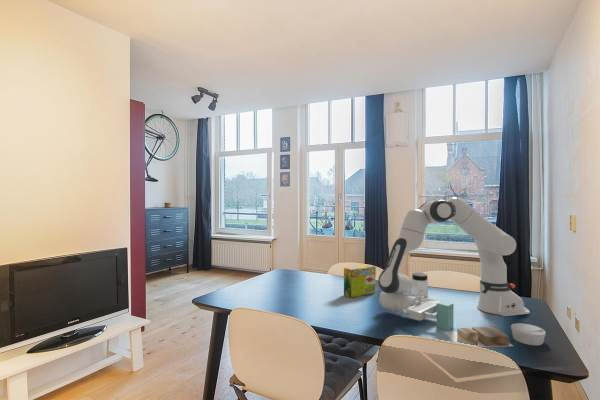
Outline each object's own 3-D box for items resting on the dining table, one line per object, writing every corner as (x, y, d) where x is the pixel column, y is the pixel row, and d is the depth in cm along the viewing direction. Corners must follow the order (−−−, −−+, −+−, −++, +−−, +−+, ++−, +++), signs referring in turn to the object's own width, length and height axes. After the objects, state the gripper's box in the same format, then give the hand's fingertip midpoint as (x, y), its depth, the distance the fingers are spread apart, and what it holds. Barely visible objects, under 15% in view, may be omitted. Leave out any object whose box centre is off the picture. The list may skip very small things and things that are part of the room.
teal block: (441, 325, 148) (441, 300, 148) (453, 329, 144) (453, 303, 144) (436, 328, 144) (436, 303, 144) (448, 332, 141) (448, 306, 140)
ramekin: (543, 351, 123) (543, 337, 123) (508, 342, 131) (508, 329, 131) (547, 341, 132) (547, 328, 132) (513, 333, 139) (513, 320, 139)
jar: (413, 297, 188) (413, 276, 187) (409, 293, 196) (409, 272, 196) (430, 297, 187) (430, 276, 187) (425, 293, 195) (425, 272, 195)
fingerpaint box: (367, 290, 203) (367, 263, 203) (375, 292, 197) (375, 265, 197) (342, 295, 193) (342, 267, 193) (350, 298, 187) (350, 269, 187)
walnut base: (494, 335, 135) (494, 326, 135) (509, 345, 126) (509, 336, 126) (472, 336, 135) (472, 327, 135) (485, 346, 126) (485, 336, 126)
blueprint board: (491, 332, 140) (491, 330, 140) (513, 348, 126) (513, 346, 126) (443, 333, 139) (443, 331, 139) (461, 349, 125) (461, 347, 125)
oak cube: (468, 340, 131) (468, 327, 131) (477, 345, 126) (477, 332, 126) (457, 341, 130) (457, 328, 130) (466, 347, 125) (466, 333, 125)
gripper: (399, 304, 148) (430, 312, 138) (422, 295, 162) (452, 301, 152) (399, 319, 149) (430, 328, 138) (422, 308, 162) (452, 315, 152)
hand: (441, 314), depth 145 cm, fingers open, 8 cm apart
